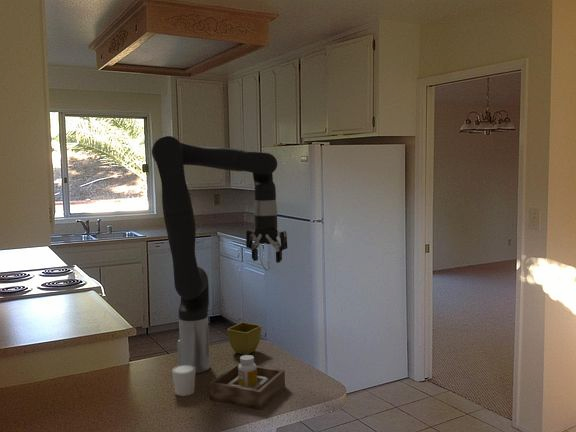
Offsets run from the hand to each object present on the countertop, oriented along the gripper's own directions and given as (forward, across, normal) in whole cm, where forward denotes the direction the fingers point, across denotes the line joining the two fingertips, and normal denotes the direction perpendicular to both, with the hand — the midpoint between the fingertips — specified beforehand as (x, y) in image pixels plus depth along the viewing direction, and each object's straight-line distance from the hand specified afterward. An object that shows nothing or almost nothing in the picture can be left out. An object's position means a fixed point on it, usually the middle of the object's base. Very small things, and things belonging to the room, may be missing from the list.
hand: (267, 261), depth 183 cm
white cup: (+33, -11, -34) cm, 49 cm away
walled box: (+33, +7, -28) cm, 44 cm away
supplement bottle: (+32, +7, -28) cm, 43 cm away
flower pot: (+33, -10, +1) cm, 35 cm away
